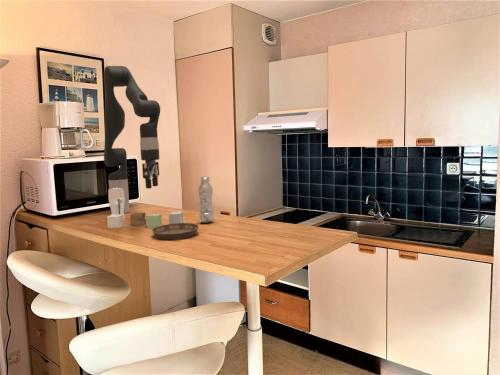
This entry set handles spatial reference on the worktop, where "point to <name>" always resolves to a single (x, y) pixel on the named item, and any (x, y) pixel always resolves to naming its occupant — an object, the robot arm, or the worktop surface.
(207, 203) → the plastic bottle
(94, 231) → the worktop surface
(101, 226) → the worktop surface
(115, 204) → the beer glass
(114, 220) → the white block
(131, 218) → the walnut block
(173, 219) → the grey block
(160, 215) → the green block
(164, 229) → the plant saucer
